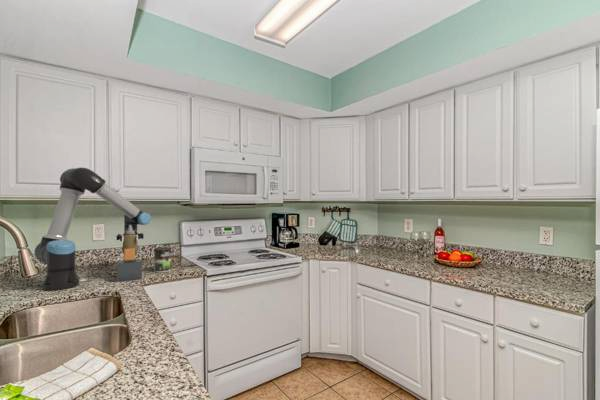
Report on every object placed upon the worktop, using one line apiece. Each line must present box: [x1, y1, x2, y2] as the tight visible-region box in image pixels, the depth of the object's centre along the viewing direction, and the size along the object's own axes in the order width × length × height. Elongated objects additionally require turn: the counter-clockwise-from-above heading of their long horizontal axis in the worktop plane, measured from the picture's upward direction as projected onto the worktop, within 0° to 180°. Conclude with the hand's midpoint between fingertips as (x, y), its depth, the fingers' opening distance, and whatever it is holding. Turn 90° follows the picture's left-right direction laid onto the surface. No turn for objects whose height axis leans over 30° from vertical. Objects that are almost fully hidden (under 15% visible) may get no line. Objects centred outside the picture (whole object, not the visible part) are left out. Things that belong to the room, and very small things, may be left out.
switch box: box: [116, 258, 143, 283], centre depth 172 cm, size 12×8×10 cm, turn 118°
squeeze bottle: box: [121, 225, 139, 257], centre depth 175 cm, size 8×8×18 cm
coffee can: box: [153, 246, 173, 273], centre depth 192 cm, size 10×10×14 cm
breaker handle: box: [123, 248, 136, 262], centre depth 171 cm, size 6×4×7 cm, turn 118°
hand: (130, 238), depth 171 cm, fingers closed on squeeze bottle, 6 cm apart
